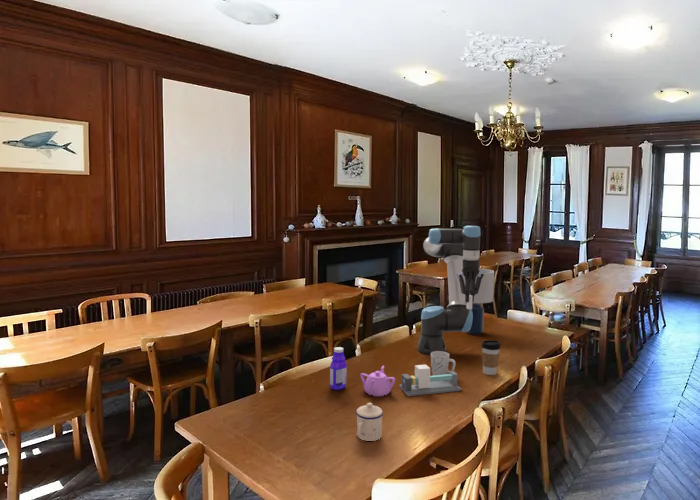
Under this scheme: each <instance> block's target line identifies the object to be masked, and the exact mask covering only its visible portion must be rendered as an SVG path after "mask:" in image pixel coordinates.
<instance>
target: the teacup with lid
mask: <svg viewBox="0 0 700 500" xmlns="http://www.w3.org/2000/svg"><path fill="white" fill-rule="evenodd" d="M355 414H356V437H357V436H358V437H359V438H360V439H362V440H366V441H374V440H378V439H379V440H381V439H382V437H381V436H383V415H384V411H383V410H382V408H381V407H379V406H377V405H373V403H372V402H367V403H366V404H365V405H361V406H359V407H357V409H356V411H355ZM358 437H357V438H358ZM359 438H358V439H359ZM380 438H381V439H380ZM360 439H359V440H360ZM362 440H361V441H362ZM379 440H378V441H379Z"/></svg>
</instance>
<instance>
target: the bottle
mask: <svg viewBox="0 0 700 500" xmlns="http://www.w3.org/2000/svg"><path fill="white" fill-rule="evenodd" d="M344 351H345V350H344V347H341V346H337V347H333V355H332V356H331V360H332V361H331V363H330V365H329V369H330V370H329V387H330V388H331V389H332V390H334V391H339V390H343V389H345V388H346V386H347V373H348V371H347V366H348V364H347V362H346V357H345V353H344Z"/></svg>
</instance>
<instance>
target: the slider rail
mask: <svg viewBox="0 0 700 500" xmlns="http://www.w3.org/2000/svg"><path fill="white" fill-rule="evenodd" d="M458 376H459V375H458V373H457V372H456V371H454V372H450V374H449V373H447V374H444V375H433V374H432V375H430V388H422V389H419V388H418V385H415V383H418V378H417V377H415V375H409V374H408V373H402V374H401V384H399V388H400V389H401V390H402V391H403V392H404V394H405V396H407V397H414V396H423V395H432V394H433V395H434V394H442V393H454V392H460V391H462V388H461V387H460V386H459V385H458V381H459V379H458V378H459V377H458Z"/></svg>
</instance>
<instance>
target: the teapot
mask: <svg viewBox="0 0 700 500" xmlns="http://www.w3.org/2000/svg"><path fill="white" fill-rule="evenodd" d="M384 369H385V365H382V366H381V367H380V370H376V371H375V372H371V373H370V374H368V373H364V372H362V373H359V374H360V380H361V381H362V383H363V390H364V391H365V393H366V394H367V393H368V394H367V395H369V396H371V395H373V396H372V397H384V395H385V396H387V395H388V394H389V393H391V391H392V387H393V386H394V384H395V383H396V378H395V377H394V376H387V375H386V374H385V370H384ZM365 377H367V378H366V379H365Z"/></svg>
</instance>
